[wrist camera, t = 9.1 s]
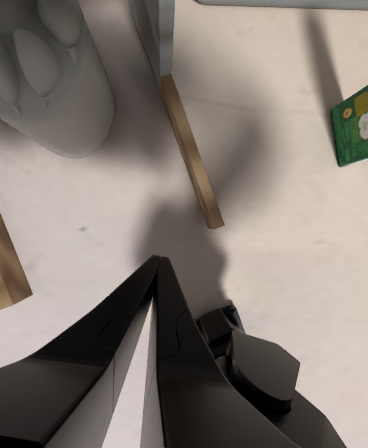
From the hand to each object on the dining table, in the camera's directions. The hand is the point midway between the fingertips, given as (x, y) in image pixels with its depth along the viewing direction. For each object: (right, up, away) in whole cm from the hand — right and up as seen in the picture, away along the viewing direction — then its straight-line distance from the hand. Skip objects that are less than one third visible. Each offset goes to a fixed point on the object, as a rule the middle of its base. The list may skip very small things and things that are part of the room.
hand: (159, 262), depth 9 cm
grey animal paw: (-12, +16, +11) cm, 23 cm away
